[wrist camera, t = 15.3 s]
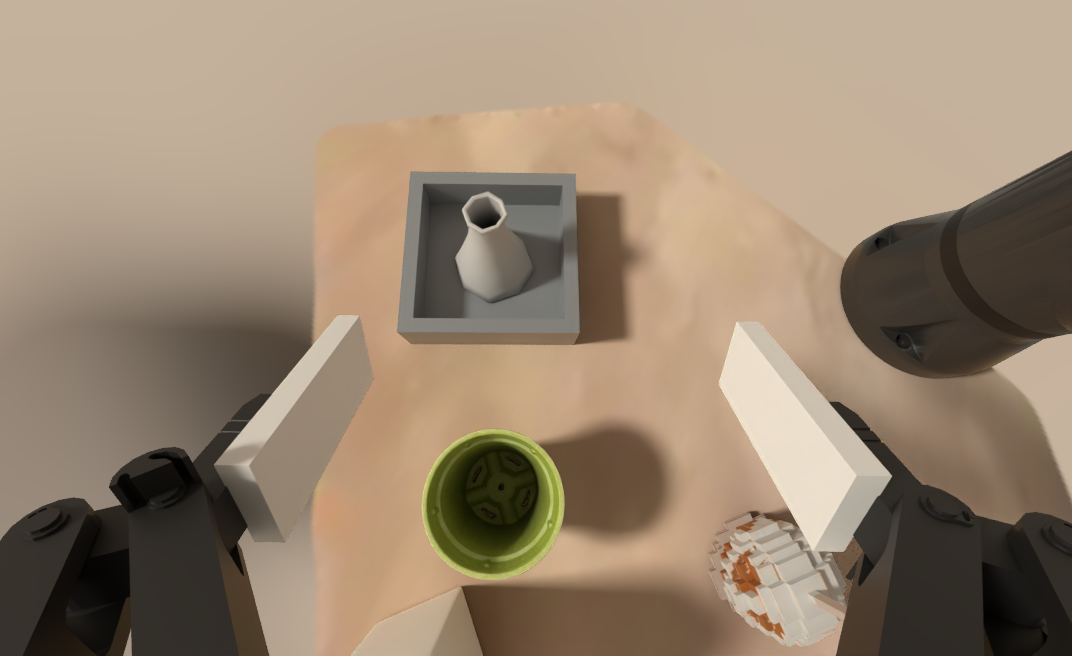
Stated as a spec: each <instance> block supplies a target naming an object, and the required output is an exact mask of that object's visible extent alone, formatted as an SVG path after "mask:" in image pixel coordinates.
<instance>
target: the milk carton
mask: <svg viewBox="0 0 1072 656" xmlns="http://www.w3.org/2000/svg"><path fill="white" fill-rule="evenodd" d="M351 656H483V654H482V650H481V647H480V644H479V641H478V638H477V634H476V631H475V628H474V625H473V621H472V618H471V615H470V612H469V609H468V605H467V602H466V599H465V596H464V593H463V589H462V587H458V588H456V589H453V590H451V591H448V592H446V593H444V594H442V595H439V596H437V597H435V598H432V599H430V600H428V601H425V602H423V603H421V604H419V605H416V606H414V607H412V608H409V609H407V610H405V611H402V612H400V613H398V614H396V615H393V616H391V617H389V618H386V619H384V620H382V621H380V622H378V623H377V624H376V625H375V626H374V627H373V628H372V630H371V631H370V632H369V633H368V635H367V636H366V637H365V638H364V640H363V641H362V642H361V643H360V644H359V646H358V647H357V648H356V649H355V651H354V652H353V653H352V654H351Z"/></svg>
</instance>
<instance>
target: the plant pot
mask: <svg viewBox="0 0 1072 656" xmlns="http://www.w3.org/2000/svg"><path fill="white" fill-rule="evenodd" d="M507 457H511V458H514V459H516V460H518V461H519V462H520V466H517V465H516V464H515V463H513V462H511V461H509V460H507V459H506V458H507ZM479 467H482V470H481V471H480V473H479V475H478V477H477V479H476V482H473V477H474V475H475V471H476V470H477V469H478V468H479ZM500 484H503V485H504V489H503V490H499V489H498V486H499V485H500ZM528 491H529V492H530V497H529V500H528V503H527V504H526V505H525V506H521V505H522V503H523V501H524V499H525V497H526V495H527V492H528ZM482 508H485V509H486V510H488V511H489V512H491V513H494V514H496V517H495V518H491V517H489V516H487V515H485V514H484V513H483V512H482ZM564 509H565V497H564V489H563V484H562V481H561V477H560V474H559V472H558V469H557V467H556V465H555V464H554V462H553V460H552V459H551V457H550V456H549V455H548V454H547V452H546V451H545V450H544V449H543V448H542V447H541V446H540V445H538V444H537V443H536V442H534V441H533V440H532V439H530V438H528V437H526V436H524V435H522V434H520V433H517V432H514V431H510V430H504V429H486V430H480V431H477V432H473V433H471V434H468V435H466V436H464V437H462V438H460V439H458V440H457V441H455V442H454V443H453V444H451V445H450V446H449V447H448V448H447V449H446V450H445V451H444V452H443V453H442V454H441V455H440V456H439V458H438V459H437V460H436V462H435V463H434V465H433V467H432V469H431V471H430V473H429V475H428V477H427V480H426V483H425V487H424V491H423V497H422V516H423V522H424V527H425V531H426V533H427V536H428V538H429V541H430V543H431V545H432V546H433V548H434V549H435V551H436V552H437V554H438V555H439V556H440V557H441V558H442V559H443V560H444V561H445V562H446V563H447V564H448V565H449V566H451V567H452V568H454V569H455V570H457V571H459V572H461V573H463V574H465V575H467V576H470V577H473V578H477V579H483V580H501V579H506V578H510V577H514V576H517V575H520V574H522V573H524V572H526V571H527V570H529V569H531V568H532V567H534V566H535V565H536V564H537V563H538V562H539V561H541V560H542V559H543V558H544V557H545V555H546V554H547V553H548V552H549V550H550V549H551V547H552V546H553V544H554V543H555V541H556V538H557V536H558V534H559V531H560V529H561V526H562V522H563V517H564Z"/></svg>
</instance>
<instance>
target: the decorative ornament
mask: <svg viewBox="0 0 1072 656" xmlns="http://www.w3.org/2000/svg"><path fill="white" fill-rule="evenodd" d="M723 523H724V525H725V528H726V529H725V530H723V531H721V532H718V533H716V534H714V535H715V537H716V540H717V541H716V542H714V543H711V544H712V547H713V549H714V551H712V552H709V553H708V554H709V557H710V559H711V561H712V564H713V566H714V567H713V568H711V569H708V571H709V574H710V576H711V579H712V581H713V583H714V586H715V588H716V591H717V593H718V595H719V598H720V599H721V600H722V601H724V600H726V599H728V602H729V604H730V606H731V609H732V611H733V612H735V613H738V614H739V615H741V616H742V617H743V618H745V621H746V622H747V623H748V624H749V625H750V626H752V627H753V628H755V627H757V628H758V629H759V630H761V631H762V632H763V633H764V634H765V635H767V636H772V637H773V638H774V639H776V640H777V641H778V642H779V643H781V644H782V645H785V644H786V645H787V646H788V647H791V646H793V645H795V644H797V645H798V646H799V647H804V646H809V645H811V644H814V643H816V642H818V641H820V640H822V639H824V638H826V637H829V636H831V635H833V634H835V633H836V632H835V630H834V629H836V628H837V626H836V624H837V623H839V621H840V620H843V621H844V618H845V614H846V610H847V605H848V604H847V602H846V600H845V597H844V595H843V593H845V592H846V590H845V588H844V587H846V586H847V584H846V582H845V580H844V578H843V576H842V574H841V572H840V570H839V568H838V566H837V564H836V561H835V559H834V557H833V555H832V553H831V552H827V551H813V550H812V549H811V547H810V545H809V543H808V542H807V540H806V538H805V536H804V534H803V533H802V531H801V529H800V528H799V527H796V526H794V525H793V524H791V523H788V522H785V521H782V520H778V519H775V520H774V519H771V518H770V519H766V516H765V515H762V514H761V515H758V516H756V517H754V518H752V517H751V514H750V513H744V514H742V515H740V516H737V517H735V518H732V519H730V520H728V521H725V522H723Z"/></svg>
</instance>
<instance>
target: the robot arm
mask: <svg viewBox="0 0 1072 656" xmlns="http://www.w3.org/2000/svg"><path fill="white" fill-rule="evenodd" d="M840 289H841V299H842V304H843V307H844V311H845V313H846V316H847V318H848V320H849V323H850V324H851V326H852V328H853V330H854V331H855V333H856V334H857V336H858V337H859V338H860V340H861V341H862V342H863V343H864V344H865V345H866V346H867V347H868V348H869V349H870V350H871V351H872V352H873V353H874V354H875V355H876V356H878V357H879V358H880V359H882V360H883V361H885V362H886V363H888V364H889V365H891V366H893V367H895V368H897V369H899V370H901V371H903V372H906V373H909V374H912V375H916V376H920V377H926V378H948V377H955V376H961V375H968V374H973V373H976V372H980V371H983V370H985V369H988V368H990V367H992V366H994V365H996V364H998V363H1000V362H1002V361H1004V360H1005V359H1007V358H1009V357H1011V356H1013V355H1015V354H1016V353H1018V352H1020V351H1022V350H1024V349H1026V348H1028V347H1030V346H1031V345H1033V344H1035V343H1037V342H1039V341H1041V340H1043V339H1046V338H1051V337H1055V336H1060V335H1065V334H1072V151H1070V152H1068V153H1066V154H1064V155H1062V156H1060V157H1058V158H1056V159H1055V160H1053V161H1051V162H1049V163H1047V164H1045V165H1043V166H1041V167H1039V168H1037V169H1035V170H1033V171H1031V172H1030V173H1028V174H1026V175H1024V176H1022V177H1020V178H1018V179H1016V180H1014V181H1013V182H1010V183H1008V184H1007V185H1005V186H1003V187H1001V188H999V189H997V190H995V191H993V192H991V193H989V194H987V195H985V196H984V197H982V198H980V199H978V200H976V201H974V202H972V203H970V204H969V205H967V206H965V207H963V208H961V209H958V210H953V211H949V212H944V213H940V214H935V215H930V216H925V217H921V218H916V219H911V220H907V221H902V222H899V223H896V224H893V225H890V226H888V227H886V228H884V229H882V230H881V231H879V232H877V233H875V234H874V235H872V236H870V237H868V238H867V239H865V240H864V241H862V242H861V243H860V244H859V245H858V246H856V248H855V249H854V250H853V251H852V252H851V254H850V255H849V257H848V258H847V260H846V262H845V265H844V268H843V271H842V275H841V285H840ZM373 380H374V377H373V372H372V368H371V364H370V359H369V355H368V350H367V346H366V342H365V337H364V333H363V328H362V324H361V319H360V316H354V315H337V317H336V318H335V319H334V320H333V321H332V323H331V324H330V325H329V326H328V328H327V329H326V330H325V331H324V332H323V334H322V335H321V336H320V337H319V338H318V340H317V341H316V342H315V343H314V344H313V346H312V347H311V348H310V349H309V351H308V352H307V353H306V354H305V355H304V357H303V358H302V359H301V360H300V361H299V363H298V364H297V365H296V366H295V367H294V369H293V370H292V371H291V372H290V373H289V375H288V376H287V377H286V378H285V379H284V381H283V382H282V383H281V384H280V386H279V387H278V388H277V389H276V390H275V392H274V393H273V394H260V395H258V396H257V397H255V398H254V399H252V400H251V401H249V402H248V403H246V404H245V405H243V406H242V408H241V409H240V410H239V411H238V412H237V413H236V414H235V415H234V417H233V418H232V419H231V422H228V423H227V424H226V426H225V427H224V428H223V429H222V430H221V433H218V434H217V436H216V437H215V438H214V439H213V440H212V441H211V442H210V444H209V445H208V446H207V447H206V448H205V449H204V450H203V451H202V453H201V454H200V455H199V456H198V457H197V458H196V459H195V460H194V462H193V463H192V461H191V460H190V458H189V456H188V455H187V453H186V452H185V451H184V450H183V449H180V448H176V447H172V448H162V449H158V450H154V451H151V452H148V453H146V454H143V455H141V456H139V457H137V458H135V459H133V460H132V461H130V462H129V463H128V464H126V465H125V466H123V467H122V468H121V469H120V470H119V471H118V472H117V473H116V474H115V475H114V477H113V478H112V480H111V483H110V486H109V488H110V489H111V491H112V492H113V493H114V495H115V496H116V497H117V499H118V500H119V501H120V503H121V504H122V505H119V506H114V507H110V508H106V509H101V510H97V511H94V510H93V509H92V508H91V507H90V505H89V504H88V503H87V502H86V501H85V500H84V499H80V498H68V499H63V500H58V501H56V502H53V503H50V504H47V505H45V506H42V507H40V508H39V509H37V510H35V511H33V512H31V513H30V514H28V515H26V516H25V517H23V518H22V519H21V520H20V521H18V522H17V523H16V524H14V525H13V526H12V527H11V528H10V529H9V530H8V532H7V533H6V534H5V535H4V536H3V537H2V539H1V541H0V656H123V654H124V651H125V647H126V644H127V640H128V637H129V633H130V629H131V637H132V656H269V653H268V650H267V645H266V642H265V638H264V634H263V631H262V626H261V622H260V619H259V615H258V611H257V607H256V603H255V599H254V595H253V591H252V588H251V584H250V580H249V576H248V572H247V568H246V564H245V560H244V557H243V553H242V549H241V548H240V546H239V544H238V540H239V539H240V537H241V536H242V534H243V533H244V531H245V530H246V528H248V530H249V532H250V534H251V536H252V538H253V540H254V542H286V540H287V538H288V537H289V535H290V533H291V531H292V529H293V527H294V526H295V524H296V522H297V520H298V518H299V516H300V515H301V513H302V511H303V509H304V507H305V505H306V503H307V502H308V500H309V498H310V496H311V494H312V492H313V490H314V489H315V487H316V485H317V483H318V481H319V479H320V478H321V476H322V474H323V472H324V470H325V468H326V466H327V465H328V463H329V461H330V459H331V457H332V455H333V453H334V452H335V450H336V448H337V446H338V444H339V442H340V441H341V439H342V437H343V435H344V433H345V431H346V429H347V428H348V426H349V424H350V422H351V420H352V418H353V417H354V415H355V413H356V411H357V409H358V407H359V405H360V404H361V402H362V400H363V398H364V396H365V394H366V392H367V391H368V389H369V387H370V385H371V383H372V381H373ZM719 386H720V387H721V389H722V391H723V393H724V395H725V396H726V398H727V400H728V402H729V403H730V405H731V407H732V409H733V411H734V412H735V414H736V416H737V418H738V419H739V421H740V423H741V425H742V426H743V428H744V430H745V432H746V434H747V435H748V437H749V439H750V441H751V442H752V444H753V446H754V448H755V449H756V451H757V453H758V455H759V457H760V458H761V460H762V462H763V464H764V465H765V467H766V469H767V471H768V472H769V474H770V476H771V478H772V480H773V481H774V483H775V485H776V487H777V488H778V490H779V492H780V494H781V496H782V497H783V499H784V501H785V503H786V504H787V506H788V508H789V510H790V511H791V513H792V515H793V517H794V519H795V520H796V522H797V524H798V526H799V527H800V529H801V531H802V533H803V534H804V536H805V538H806V540H807V542H808V543H809V545H810V547H811V549H812V550H813V551H827V552H844V551H845V549H846V548H847V546H848V545H849V543H850V541H851V540H852V538H853V537H855V539H856V540H857V542H858V543H859V545H860V546H861V548H862V549H863V553H862V554H861V556H860V557H859V559H858V560H857V561H856V563H855V564H854V566H853V567H852V569H851V570H850V572H849V573H848V575H847V576H846V578H848V579H849V580H852V578H853V577H854V579H853V583H852V588H851V592H850V596H849V601H848V605H847V610H846V614H845V618H844V623H843V627H842V632H841V636H840V640H839V645H838V649H837V653H836V656H1072V524H1071V523H1069V522H1067V521H1064V520H1062V519H1059V518H1056V517H1054V516H1051V515H1047V514H1042V513H1037V512H1033V513H1025V515H1024V516H1023V517H1022V518H1021V519H1020V520H1019V521H1018V522H1017V523H1016V524H1015V525H1011V524H1007V523H1003V522H999V521H995V520H992V519H988V518H984V517H980V516H976V515H975V514H974V513H973V512H972V511H971V509H970V508H969V507H968V506H966V505H965V504H964V503H963V502H961V501H960V500H959V499H957V498H956V497H954V496H952V495H950V494H949V493H947V492H945V491H943V490H940V489H937V488H934V487H931V486H928V485H922V484H921V483H920V482H919V481H918V480H917V479H916V478H915V477H914V476H913V475H912V473H911V472H910V471H909V470H908V469H907V468H906V467H905V466H904V465H903V464H902V463H901V461H900V460H899V459H898V458H897V457H896V456H895V455H894V454H893V453H892V452H891V451H890V449H889V448H888V447H887V446H886V445H885V444H884V443H881V441H880V439H879V438H878V436H877V435H876V434H875V433H874V432H873V431H870V428H869V427H868V426H867V424H866V423H865V422H864V421H863V420H862V419H861V418H860V417H859V416H858V415H857V414H856V413H855V412H853V411H852V410H850V409H849V408H847V407H846V406H844V405H843V404H841V403H840V402H828V401H827V400H826V399H825V398H824V397H823V395H822V394H821V393H820V392H819V391H818V390H817V388H816V387H815V386H814V385H813V384H812V383H811V381H810V380H809V379H808V378H807V377H806V376H805V375H804V373H803V372H802V371H801V370H800V369H799V368H798V366H797V365H796V364H795V363H794V362H793V361H792V359H791V358H790V357H789V356H788V355H787V354H786V353H785V351H784V350H783V349H782V348H781V347H780V346H779V344H778V343H777V342H776V341H775V340H774V339H773V338H772V336H771V335H770V334H769V333H768V332H767V331H766V329H765V328H764V327H763V326H762V325H761V324H760V322H740V321H737V323H736V326H735V330H734V333H733V336H732V340H731V343H730V347H729V350H728V354H727V357H726V361H725V364H724V367H723V371H722V374H721V378H720V381H719Z"/></svg>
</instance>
